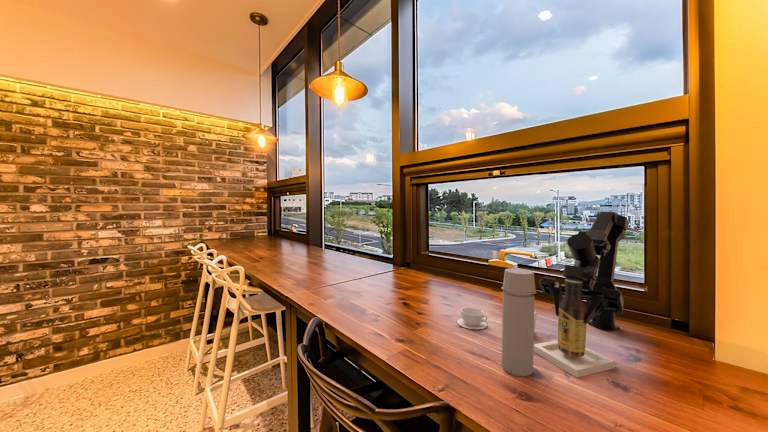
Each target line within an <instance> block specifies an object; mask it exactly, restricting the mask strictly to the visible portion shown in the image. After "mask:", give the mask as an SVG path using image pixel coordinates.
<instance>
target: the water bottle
mask: <svg viewBox="0 0 768 432" xmlns="http://www.w3.org/2000/svg"><path fill="white" fill-rule="evenodd" d="M500 289H502V318H501V319H502V320H501V321H502V322H501V323H502V325H501V326H502V328H501V366H502V368H503V369H504V370H505V372H506V373H509V374H510V375H512V376H517V377H523V378H524V377H529V376H531V374H532V373H533V372H534V352H533V346H534V341H535V340H534V339H535V338H534V337H535V332H534V311H535V294H537V291H536V283H535V273H534V271H533V270H529V269H526V268H525V269H524V268H517V267H516V268H515V267H510V268H505V269H504V274H503V283H502V287H500Z"/></svg>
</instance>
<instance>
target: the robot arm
mask: <svg viewBox="0 0 768 432" xmlns="http://www.w3.org/2000/svg"><path fill="white" fill-rule="evenodd" d="M629 227H630V224H629V219H628V218H627V217H626V216H623V215H621V214H618V212H615V211H598V212H597V214H596V218H595V221H594V222H593V224H592V225H591V227H590V229H589V230H587V231H585V230H584V231H581V230H579V231H578V233H575V234H572V235H571V236H570V237H568V238H567V240H566V241H567V242H566V243H567V246H568V249H569V251H570V254H571V257H572V259H574V263H573V265H569V264H565V265H564V268H563V273H562V277H564V280H565V279H578V280H581V281H583V287H582V297H586V308H587V309H586V315H585V319H584V323H585V324H586V325H591V326H593V327H595V328H598V329H600V330H603V331H606V332H610V331H615V330H619V329H620V330H621V327H620V326H618V325H616V314H619V313H620V314H622V313H623V310H624V309H623V308H624V304H625V301H624V297H623V294H622V292H621V291H620V290H619V289H618V288H617V286H616V285H615V283H614V279H615V273H616V272H615V270H616V266H617V265H616V263H617V255H618V249H619V242H621V241H622V240H623V238H625V237H626V232H627V231H629V229H630V228H629ZM538 284H539V286H540V288H541V290H542V293H544V294H546V295H550V296H551V297H552V298H553V299H554V300H553V301H554V307H555V308H554V309H555V316H557V317H559V306H560V303H561V301H562V299H563V297H564V295H563V293H565V284H561V282H559V281H558V280H557V278H553V277H548V276H542V277H541V278H540V279H539V282H538Z"/></svg>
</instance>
